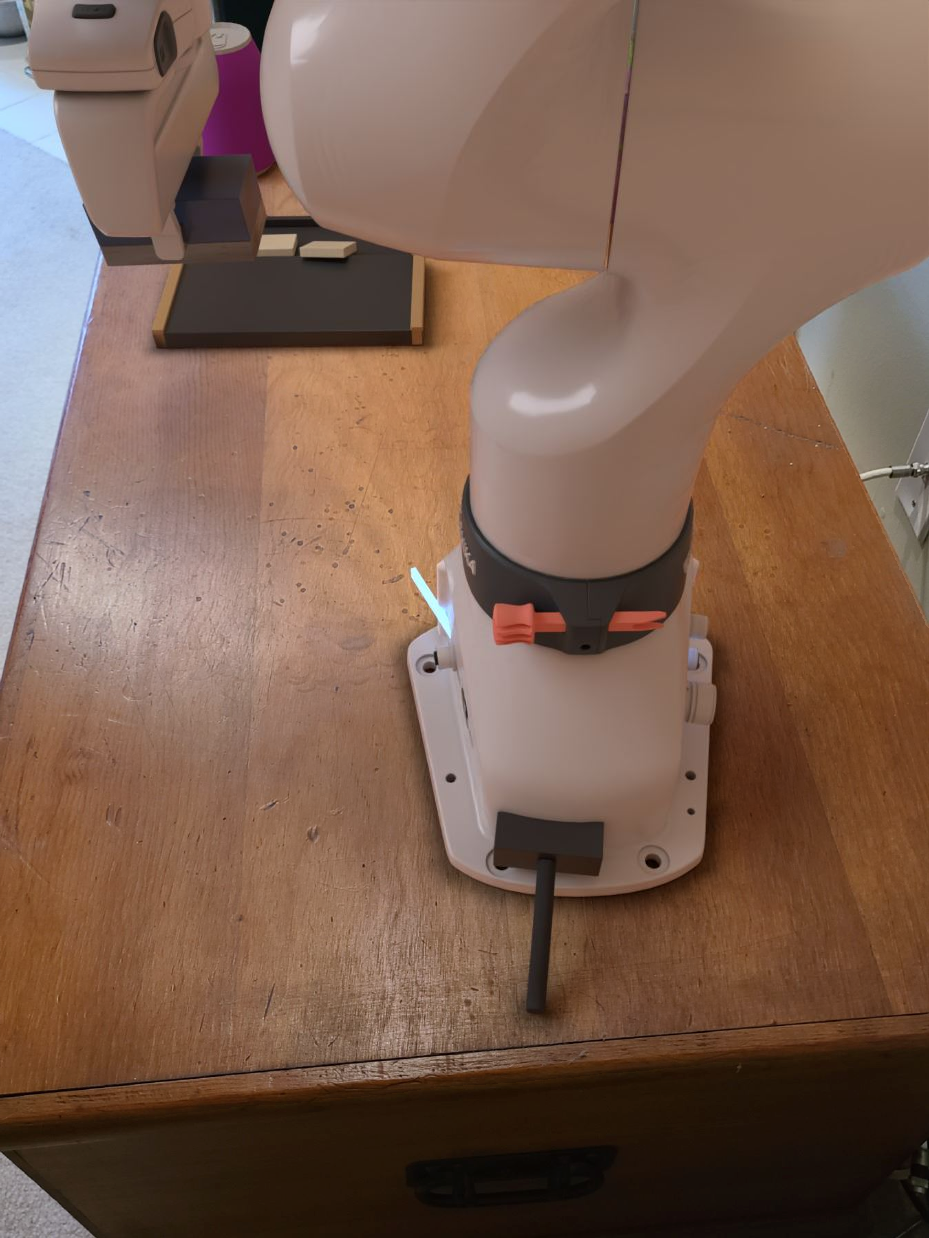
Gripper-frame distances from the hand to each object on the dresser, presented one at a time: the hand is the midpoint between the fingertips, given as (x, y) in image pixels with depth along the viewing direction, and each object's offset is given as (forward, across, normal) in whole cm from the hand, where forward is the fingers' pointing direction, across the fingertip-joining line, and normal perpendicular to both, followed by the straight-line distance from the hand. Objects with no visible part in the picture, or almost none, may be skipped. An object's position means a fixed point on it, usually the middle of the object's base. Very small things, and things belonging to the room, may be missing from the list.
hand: (183, 228), depth 65 cm
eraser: (+1, 0, 0) cm, 1 cm away
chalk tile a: (+13, -19, +6) cm, 24 cm away
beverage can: (+14, -37, -5) cm, 40 cm away
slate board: (+14, -13, +4) cm, 20 cm away
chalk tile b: (+14, -20, +1) cm, 24 cm away
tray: (+14, -22, +4) cm, 27 cm away
